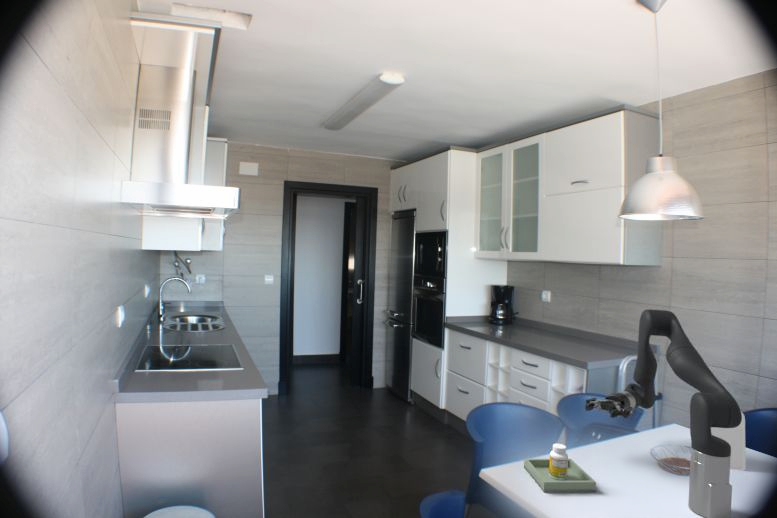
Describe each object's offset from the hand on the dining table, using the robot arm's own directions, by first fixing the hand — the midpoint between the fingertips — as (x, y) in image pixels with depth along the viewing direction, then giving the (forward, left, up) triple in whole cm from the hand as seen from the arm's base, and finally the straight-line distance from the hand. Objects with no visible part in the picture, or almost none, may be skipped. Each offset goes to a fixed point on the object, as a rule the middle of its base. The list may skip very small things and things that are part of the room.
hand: (598, 411), depth 160 cm
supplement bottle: (-9, +18, -18) cm, 27 cm away
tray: (-9, +18, -19) cm, 27 cm away
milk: (+4, -47, -19) cm, 51 cm away
